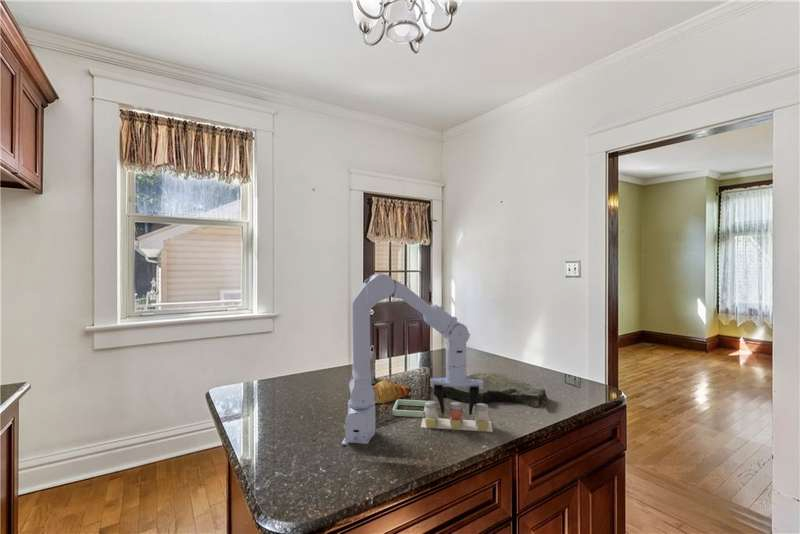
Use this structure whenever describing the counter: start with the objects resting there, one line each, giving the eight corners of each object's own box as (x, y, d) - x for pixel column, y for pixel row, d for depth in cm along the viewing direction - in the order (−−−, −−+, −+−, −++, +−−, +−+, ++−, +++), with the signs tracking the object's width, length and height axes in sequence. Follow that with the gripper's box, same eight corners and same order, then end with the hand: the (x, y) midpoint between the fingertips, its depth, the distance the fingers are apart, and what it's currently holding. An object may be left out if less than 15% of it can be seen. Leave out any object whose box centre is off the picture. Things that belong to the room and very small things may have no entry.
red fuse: (462, 427, 104) (462, 407, 104) (449, 426, 105) (449, 406, 105) (462, 421, 108) (462, 402, 108) (449, 421, 108) (449, 401, 108)
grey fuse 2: (488, 428, 103) (488, 408, 103) (475, 428, 104) (475, 407, 104) (487, 423, 107) (487, 403, 107) (474, 422, 107) (474, 403, 107)
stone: (558, 387, 125) (507, 407, 107) (558, 406, 125) (506, 429, 107) (475, 363, 152) (423, 375, 134) (475, 378, 152) (422, 393, 134)
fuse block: (492, 435, 102) (492, 423, 102) (420, 430, 105) (420, 419, 105) (490, 424, 108) (490, 413, 108) (422, 420, 111) (422, 409, 111)
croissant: (355, 419, 121) (358, 401, 117) (346, 396, 128) (349, 378, 125) (414, 406, 130) (418, 389, 126) (402, 385, 138) (406, 368, 134)
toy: (362, 390, 137) (362, 349, 137) (353, 375, 156) (353, 339, 155) (379, 388, 139) (379, 348, 139) (369, 373, 157) (368, 338, 157)
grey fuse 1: (437, 425, 105) (437, 405, 105) (424, 425, 106) (424, 405, 106) (438, 420, 109) (438, 401, 109) (425, 419, 110) (425, 400, 109)
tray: (425, 420, 111) (425, 412, 111) (391, 418, 113) (391, 410, 113) (427, 408, 120) (427, 400, 120) (396, 406, 122) (396, 399, 122)
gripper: (481, 361, 109) (481, 408, 109) (431, 359, 111) (431, 405, 111) (483, 368, 102) (483, 418, 102) (429, 366, 104) (429, 415, 104)
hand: (456, 412), depth 106 cm, fingers open, 7 cm apart
